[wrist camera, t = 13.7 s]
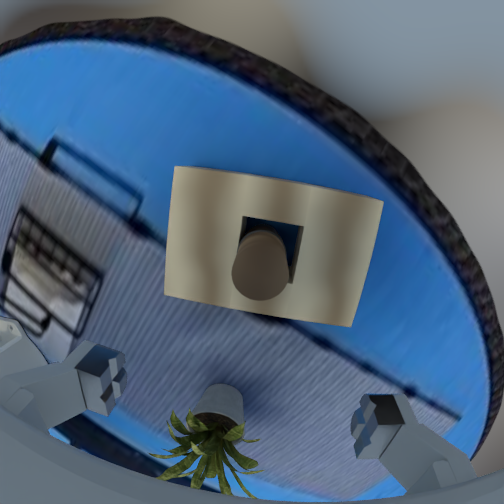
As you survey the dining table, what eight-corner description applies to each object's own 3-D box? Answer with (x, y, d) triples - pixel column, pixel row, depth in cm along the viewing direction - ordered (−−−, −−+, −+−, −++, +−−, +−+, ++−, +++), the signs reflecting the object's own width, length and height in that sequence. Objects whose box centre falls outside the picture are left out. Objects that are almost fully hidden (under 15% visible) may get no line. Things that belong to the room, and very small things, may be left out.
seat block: (179, 276, 33) (163, 294, 28) (191, 165, 29) (174, 165, 25) (341, 304, 32) (350, 327, 27) (367, 195, 29) (383, 201, 24)
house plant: (304, 375, 35) (310, 485, 19) (267, 439, 39) (258, 531, 23) (192, 341, 35) (142, 442, 19) (174, 411, 39) (137, 498, 23)
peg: (239, 257, 31) (227, 298, 22) (244, 217, 30) (232, 241, 21) (280, 262, 31) (285, 305, 22) (286, 222, 30) (294, 249, 21)
